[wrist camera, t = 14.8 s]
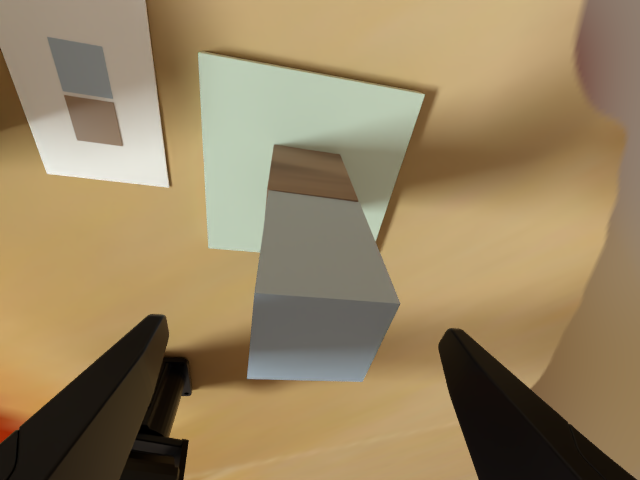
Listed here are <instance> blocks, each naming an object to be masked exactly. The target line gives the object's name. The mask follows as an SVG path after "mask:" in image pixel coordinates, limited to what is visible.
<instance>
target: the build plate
mask: <svg viewBox="0 0 640 480" xmlns="http://www.w3.org/2000/svg"><path fill="white" fill-rule="evenodd" d="M198 63H199V81H200V100H201V118H202V137H203V156H204V174H205V193H206V211H207V230H208V248H213V249H225V250H237V251H249V252H260V250H261V242H262V235H263V228H264V221H265V209H266V197H267V187H268V180H269V173H270V167H271V160H272V153H273V147H274V145H280V146H287V147H294V148H301V149H307V150H314V151H321V152H328V153H334V154H340V155H341V158H342V160H343V163H344V165H345V168H346V170H347V173H348V175H349V178H350V180H351V183H352V185H353V188H354V190H355V193H356V195H357V198H358V200H359V201H358V202H360V204H361V207H362V209H363V212H364V214H365V217H366V219H367V222H368V224H369V227H370V229H371V232H372V234H373V237H374V239H375V242H376V239H377V236H378V233H379V230H380V227H381V224H382V221H383V218H384V215H385V212H386V209H387V206H388V203H389V200H390V197H391V194H392V191H393V188H394V185H395V182H396V179H397V176H398V173H399V170H400V167H401V164H402V162H403V159H404V156H405V153H406V150H407V147H408V144H409V141H410V138H411V135H412V132H413V129H414V126H415V123H416V120H417V117H418V114H419V111H420V108H421V105H422V102H423V99H424V96H425V94H423V93H421V92H419V91H413V90H408V89H403V88H397V87H392V86H387V85H381V84H376V83H371V82H365V81H360V80H354V79H349V78H344V77H338V76H333V75H328V74H322V73H317V72H312V71H306V70H301V69H296V68H290V67H285V66H279V65H274V64H269V63H263V62H258V61H253V60H247V59H242V58H237V57H231V56H226V55H220V54H215V53H210V52H204V51H202V52H198Z"/></svg>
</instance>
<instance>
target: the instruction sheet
mask: <svg viewBox="0 0 640 480" xmlns="http://www.w3.org/2000/svg"><path fill="white" fill-rule="evenodd" d="M0 48H1V51H2V53H3V56H4V59H5V61H6V64H7V67H8V70H9V72H10V75H11V78H12V80H13V83H14V86H15V88H16V91H17V94H18V96H19V99H20V102H21V105H22V107H23V110H24V113H25V115H26V118H27V121H28V123H29V126H30V129H31V132H32V134H33V137H34V140H35V142H36V145H37V148H38V150H39V153H40V156H41V159H42V161H43V164H44V167H45V169H46V172H47V174H54V175H63V176H71V177H80V178H89V179H98V180H107V181H116V182H124V183H133V184H142V185H151V186H160V187H169V180H168V172H167V164H166V156H165V148H164V141H163V133H162V125H161V117H160V109H159V102H158V94H157V86H156V78H155V70H154V62H153V55H152V47H151V39H150V31H149V23H148V15H147V8H146V0H0Z"/></svg>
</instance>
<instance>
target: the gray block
mask: <svg viewBox="0 0 640 480" xmlns="http://www.w3.org/2000/svg"><path fill="white" fill-rule="evenodd" d="M399 305H400V302H399V299H398V297H397V294H396V292H395V289H394V287H393V284H392V282H391V279H390V277H389V274H388V272H387V269H386V267H385V264H384V262H383V259H382V257H381V254H380V252H379V249H378V247H377V244H376V242H375V239H374V237H373V234H372V232H371V229H370V227H369V224H368V222H367V219H366V217H365V214H364V212H363V209H362V207H361V204H360V202H354V201H346V200H339V199H331V198H324V197H316V196H309V195H301V194H294V193H286V192H279V191H272V190H269V192H268V199H267V206H266V214H265V221H264V228H263V235H262V242H261V250H260V257H259V264H258V271H257V278H256V286H255V293H254V304H253V316H252V327H251V339H250V350H249V362H248V373H247V379H271V380H312V381H352V382H363V380H364V377H365V375H366V373H367V371H368V369H369V367H370V365H371V363H372V361H373V359H374V357H375V355H376V353H377V351H378V349H379V347H380V345H381V342H382V340H383V338H384V336H385V334H386V332H387V330H388V328H389V326H390V324H391V322H392V320H393V318H394V316H395V314H396V312H397V310H398V308H399Z"/></svg>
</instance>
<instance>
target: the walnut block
mask: <svg viewBox="0 0 640 480" xmlns="http://www.w3.org/2000/svg"><path fill="white" fill-rule="evenodd" d="M269 190H272V191H279V192H286V193H294V194H301V195H309V196H316V197H324V198H331V199H339V200H346V201H354V202H358V201H359V200H358V198H357V195H356V193H355V190H354V188H353V185H352V183H351V180H350V178H349V175H348V173H347V170H346V168H345V165H344V163H343V160H342V158H341V155H340V154H334V153H328V152H321V151H314V150H307V149H301V148H294V147H287V146H280V145H274V147H273V153H272V160H271V167H270V173H269V180H268V187H267V197H266V206H267V199H268V192H269ZM265 214H266V209H265Z"/></svg>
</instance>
